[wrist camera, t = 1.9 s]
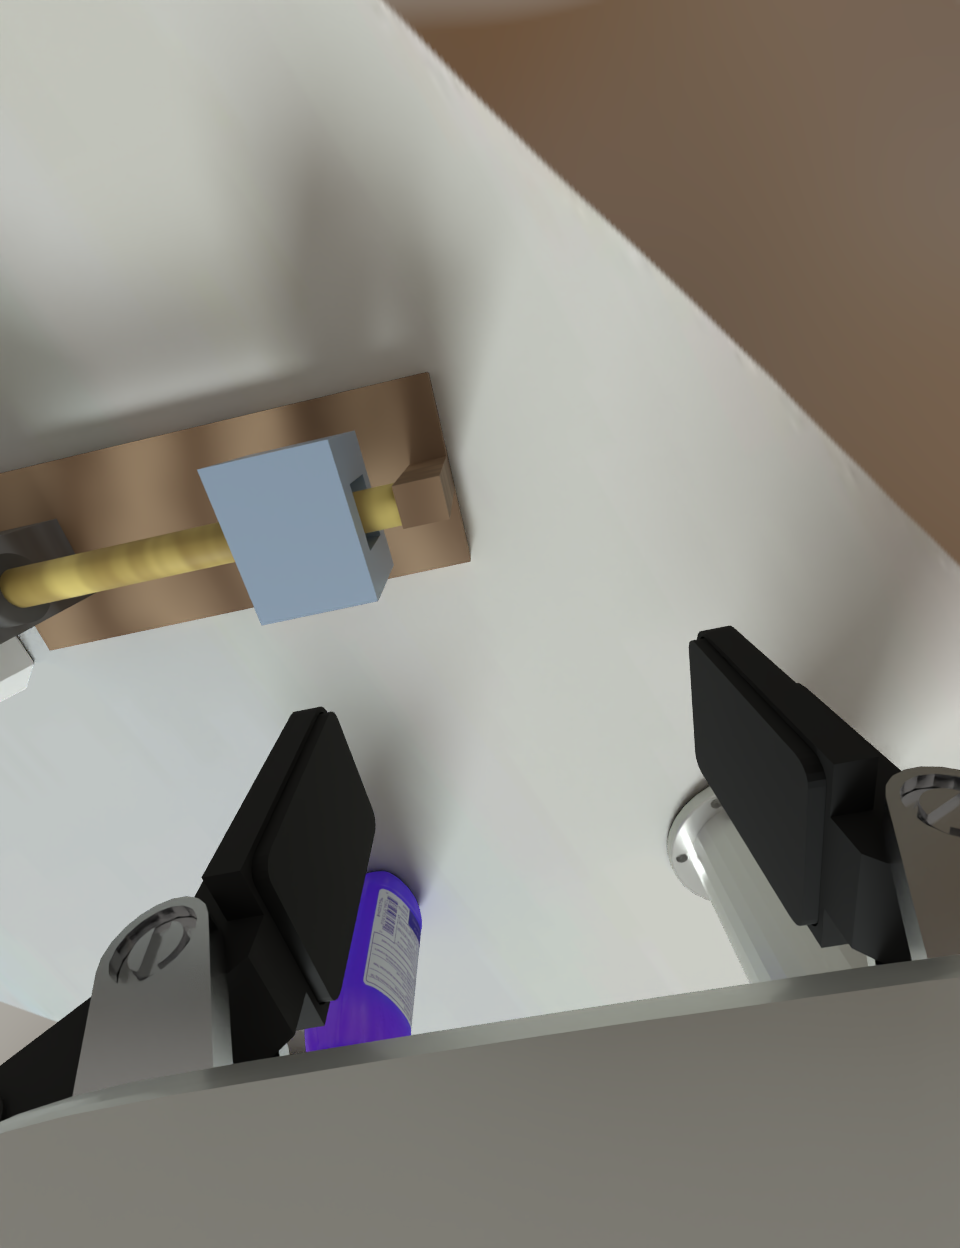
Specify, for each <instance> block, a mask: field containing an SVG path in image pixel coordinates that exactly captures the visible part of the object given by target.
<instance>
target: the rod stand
mask: <svg viewBox="0 0 960 1248" xmlns="http://www.w3.org/2000/svg"><path fill="white" fill-rule="evenodd" d="M354 430H355V433H356V436H357V440H358V443H359V447H360V450H361V453H362V457H363V460H364V464H365V467H366V471H367V474H368V478H369V481H370V484H371V488H369V489H364V490H360V491H355V492H352V493H353V497H354V500H355V503H356V507H357V510H358V513H359V516H360V520H361V523H362V526H363V529H364V533H370V532H374V531H379V530H384V533H385V536H386V539H387V543H388V546H389V550H390V553H391V557H392V560H393V564H394V566H393V568H392V570H391V572H390V575H389V577H388V579H390V578H395V577H399V576H404V575H409V574H414V573H418V572H423V571H428V570H432V569H437V568H442V567H447V566H451V565H456V564H461V563H465V562H470V561H471V555H470V551H469V547H468V542H467V538H466V534H465V529H464V525H463V520H462V516H461V512H460V507H459V503H458V499H457V494H456V490H455V485H454V481H453V477H452V472H451V468H450V464H449V459H448V455H447V450H446V446H445V442H444V437H443V433H442V429H441V424H440V420H439V415H438V411H437V407H436V402H435V398H434V393H433V389H432V385H431V380H430V376H429V373H428V372H425V373H421V374H416V375H412V376H408V377H404V378H399V379H395V380H391V381H387V382H383V383H378V384H374V385H370V386H366V387H362V388H357V389H353V390H349V391H345V392H341V393H336V394H332V395H328V396H324V397H319V398H315V399H311V400H307V401H303V402H298V403H294V404H290V405H286V406H282V407H277V408H273V409H269V410H265V411H261V412H256V413H252V414H248V415H244V416H239V417H235V418H231V419H227V420H223V421H218V422H214V423H210V424H206V425H202V426H197V427H193V428H189V429H185V430H181V431H176V432H172V433H168V434H164V435H159V436H155V437H151V438H147V439H143V440H138V441H134V442H130V443H126V444H122V445H117V446H113V447H109V448H105V449H101V450H96V451H92V452H88V453H84V454H79V455H75V456H71V457H67V458H63V459H58V460H54V461H50V462H46V463H42V464H37V465H33V466H29V467H25V468H21V469H16V470H12V471H8V472H4V473H0V644H2V643H4V642H6V641H8V640H9V639H11V638H13V637H15V636H17V635H19V634H21V633H22V632H24V631H26V630H28V629H30V628H32V627H34V626H35V627H36V628H37V630H38V632H39V633H40V635H41V637H42V638H43V640H44V642H45V643H46V645H47V647H48V648H49V650H55V649H60V648H64V647H69V646H74V645H78V644H83V643H88V642H93V641H97V640H102V639H107V638H112V637H116V636H121V635H126V634H130V633H135V632H140V631H145V630H149V629H154V628H159V627H163V626H168V625H173V624H178V623H182V622H187V621H192V620H196V619H201V618H206V617H211V616H215V615H220V614H225V613H229V612H234V611H239V610H244V609H248V608H253V607H254V606H253V603H252V601H251V599H250V596H249V594H248V591H247V589H246V587H245V584H244V582H243V579H242V577H241V574H240V572H239V570H238V567H237V565H236V562H235V560H234V558H233V555H232V553H231V550H230V548H229V546H228V543H227V541H226V538H225V536H224V534H223V531H222V529H221V526H220V524H219V521H218V519H217V517H216V514H215V512H214V509H213V507H212V505H211V502H210V500H209V497H208V495H207V493H206V490H205V488H204V485H203V483H202V481H201V478H200V476H199V473H198V471H197V470H198V469H201V468H205V467H208V466H212V465H215V464H219V463H222V462H226V461H229V460H233V459H237V458H240V457H244V456H247V455H251V454H255V453H260V452H264V451H268V450H273V449H277V448H281V447H286V446H290V445H294V444H298V443H303V442H307V441H311V440H316V439H320V438H324V437H329V436H333V435H337V434H342V433H346V432H350V431H354Z"/></svg>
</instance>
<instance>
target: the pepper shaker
mask: <svg viewBox="0 0 960 1248" xmlns="http://www.w3.org/2000/svg"><path fill="white" fill-rule="evenodd" d="M33 665H34V662H33V660H32V659H31V657H30V656H29V654H28V653H27V651H26V650H25V648H24V646H23V645H22V643H21V642H20V640H19V639H18V637H17V636H15V637H13V638H11V639H9V640H8V641H6V642H4V643H2V644H0V702H1V701H3V700H5V699H7V698H9V697H11V696H13V695H15V694H17V693H19V692H21V691H23V690H25V689H26V688H27V685H28V682H29V678H30V675H31V672H32V669H33Z"/></svg>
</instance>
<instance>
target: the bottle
mask: <svg viewBox="0 0 960 1248" xmlns="http://www.w3.org/2000/svg"><path fill="white" fill-rule="evenodd" d="M421 929H422V919H421V913H420V909H419V906H418V903H417V901H416V899H415V897H414V895H413V894H412V892H411V891H410V889H409V888H408V887H407V886H406V885H405V884H404V883H403V882H402V881H401V880H400V879H399V878H397V877H396V876H394V875H393V874H391V873H389V872H386V871H376V872H370V873H367V874H366V876H365V881H364V885H363V890H362V895H361V899H360V904H359V909H358V914H357V918H356V923H355V928H354V932H353V937H352V942H351V946H350V951H349V956H348V960H347V965H346V970H345V975H344V979H343V984H342V989H341V992H340V995H339V997H338V999H336V1000H334V1001H330V1005H329V1009H328V1014H327V1018H326V1022H325V1026H321V1027H314V1028H308V1029H305V1047H306V1052H310V1051H316V1050H322V1049H329V1048H335V1047H341V1046H348V1045H354V1044H360V1043H366V1042H373V1041H379V1040H385V1039H391V1038H398V1037H404V1036H410V1035H411V1026H412V1016H413V1006H414V995H415V985H416V974H417V965H418V956H419V947H420V935H421Z"/></svg>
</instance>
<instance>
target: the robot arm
mask: <svg viewBox="0 0 960 1248" xmlns="http://www.w3.org/2000/svg"><path fill="white" fill-rule="evenodd" d="M689 659H690V675H691V691H692V707H693V723H694V739H695V754H696V759H697V763H698V766H699V768H700V770H701V772H702V774H703V776H704V777H705V779H706V781H707V782H708V784H709V785H710V786H709V787H707V788H706V789H704V790H703V791H702V792H700V793H699V794H697V795H696V796H695V797H694V798H693V799H692V800H690V801H689V802H688V803H687V804H686V805H685V806H684V807H683V809H682V810H681V811H680V813H679V814H678V815H677V817H676V818H675V820H674V822H673V825H672V827H671V829H670V832H669V836H668V841H667V852H668V857H669V860H670V863H671V866H672V868H673V870H674V872H675V874H676V876H677V878H678V879H679V881H680V882H681V883H682V884H683V885H684V887H686V888H687V889H688V890H690V891H691V892H692V893H694V894H695V895H698V896H700V897H702V898H704V899H706V900H710V901H711V903H712V905H713V907H714V909H715V911H716V913H717V915H718V918H719V920H720V922H721V924H722V926H723V928H724V930H725V932H726V934H727V936H728V939H729V941H730V943H731V945H732V947H733V949H734V951H735V953H736V955H737V958H738V960H739V962H740V964H741V966H742V968H743V970H744V972H745V974H746V976H747V979H748V981H749V983H750V984H745V985H738V986H731V987H724V988H718V989H711V990H704V991H697V992H690V993H684V994H677V995H670V996H663V997H657V998H650V999H644V1000H637V1001H631V1002H624V1003H617V1004H611V1005H604V1006H598V1007H591V1008H585V1009H578V1010H572V1011H565V1012H558V1013H552V1014H545V1015H539V1016H532V1017H526V1018H519V1019H513V1020H507V1021H500V1022H494V1023H487V1024H481V1025H474V1026H468V1027H461V1028H455V1029H448V1030H442V1031H435V1032H429V1033H423V1034H416V1035H410V1036H404V1037H398V1038H391V1039H385V1040H379V1041H373V1042H366V1043H360V1044H354V1045H348V1046H341V1047H335V1048H329V1049H322V1050H316V1051H310V1052H304V1053H297V1054H291V1055H290V1054H289V1048H288V1044H287V1042H288V1041H289V1040H290V1039H291V1038H292V1037H293V1036H294V1035H295V1032H296V1030H302V1029H308V1028H314V1027H321V1026H325V1022H326V1018H327V1014H328V1009H329V1005H330V1001H334V1000H336V999H338V997H339V995H340V992H341V989H342V984H343V979H344V975H345V970H346V965H347V960H348V956H349V951H350V946H351V942H352V937H353V932H354V928H355V923H356V918H357V914H358V909H359V904H360V899H361V895H362V890H363V885H364V881H365V876H366V871H367V867H368V862H369V857H370V852H371V848H372V843H373V838H374V834H375V816H374V812H373V809H372V807H371V804H370V802H369V799H368V796H367V794H366V791H365V788H364V786H363V783H362V781H361V778H360V775H359V773H358V770H357V768H356V765H355V762H354V760H353V757H352V755H351V752H350V749H349V747H348V744H347V741H346V739H345V736H344V734H343V731H342V728H341V726H340V723H339V721H338V718H337V716H336V714H335V713H334V712H328V713H327V711H326V710H325V709H324V708H323V707H316V708H311V709H306V710H301V711H296V712H293V713H292V714H291V716H290V718H289V719H288V721H287V723H286V725H285V727H284V729H283V730H282V732H281V734H280V736H279V738H278V740H277V741H276V743H275V745H274V747H273V749H272V750H271V752H270V754H269V756H268V758H267V760H266V761H265V763H264V765H263V767H262V769H261V770H260V772H259V774H258V776H257V778H256V780H255V781H254V783H253V785H252V787H251V789H250V790H249V792H248V794H247V796H246V798H245V800H244V801H243V803H242V805H241V807H240V809H239V810H238V812H237V814H236V816H235V818H234V820H233V821H232V823H231V825H230V827H229V829H228V830H227V832H226V834H225V836H224V838H223V840H222V841H221V843H220V845H219V847H218V849H217V850H216V852H215V854H214V856H213V858H212V860H211V861H210V863H209V865H208V867H207V869H206V871H205V872H204V874H203V876H202V879H203V882H202V884H201V886H200V888H199V890H198V891H197V893H196V895H195V897H188V896H186V897H180V898H174V899H171V900H168V901H166V902H163V903H161V904H158V905H156V906H155V907H153V908H151V909H150V910H148V911H146V912H145V913H143V914H141V915H140V916H139V917H138V918H136V919H135V920H134V921H133V922H131V923H130V924H129V925H128V926H127V927H125V928H124V929H123V930H122V932H121V933H120V934H119V935H118V936H117V937H116V938H115V939H114V940H113V941H112V942H111V944H110V945H109V947H108V948H107V950H106V952H105V953H104V955H103V956H102V958H101V960H100V963H99V966H98V968H97V971H96V975H95V980H94V985H93V990H92V996H91V997H90V998H89V999H88V1000H86V1001H85V1002H84V1003H82V1004H81V1005H80V1006H78V1007H77V1008H76V1009H74V1010H73V1011H72V1012H70V1013H69V1014H68V1015H67V1016H65V1017H64V1018H63V1019H61V1020H60V1021H59V1022H57V1023H56V1024H55V1025H53V1026H52V1027H51V1028H49V1029H48V1030H47V1031H45V1032H44V1033H43V1034H42V1035H40V1036H39V1037H38V1038H36V1039H35V1040H34V1041H32V1042H31V1043H30V1044H28V1045H27V1046H26V1047H24V1048H23V1049H22V1050H20V1051H19V1052H18V1053H16V1054H15V1055H14V1056H12V1057H11V1058H10V1059H8V1060H7V1061H6V1062H5V1063H3V1064H2V1065H1V1066H0V1248H960V770H957V769H951V768H945V767H922V766H921V767H916V768H910V769H905V770H903V771H901V770H900V769H898V768H897V767H896V766H895V765H894V764H893V763H892V762H890V761H889V760H888V759H887V758H886V757H885V756H884V755H882V754H881V753H880V752H879V751H878V750H877V749H876V748H874V747H873V746H872V745H871V744H870V743H869V742H868V741H866V740H865V739H864V738H863V737H862V736H861V735H860V734H858V733H857V732H856V731H855V730H854V729H853V728H852V727H850V726H849V725H848V724H847V723H846V722H845V721H844V720H842V719H841V718H840V717H839V716H838V715H837V714H836V713H834V712H833V711H832V710H831V709H830V708H829V707H828V706H826V705H825V704H824V703H823V702H822V701H821V700H820V699H818V698H817V697H816V696H815V695H814V694H813V693H812V692H810V691H809V690H808V689H807V688H806V687H804V686H803V685H801V684H800V683H796V682H794V681H793V680H792V679H791V678H790V677H789V676H788V675H787V674H785V673H784V672H783V671H782V670H781V669H780V668H779V667H778V666H776V665H775V664H774V663H773V662H772V661H771V660H770V659H768V658H767V657H766V656H765V655H764V654H763V653H762V652H761V651H759V650H758V649H757V648H756V647H755V646H754V645H753V644H752V643H750V642H749V641H748V640H747V639H746V638H745V637H744V636H743V635H741V634H740V633H739V632H738V631H737V630H736V629H735V628H734V627H732V626H725V627H720V628H715V629H710V630H705V631H700V632H699V633H698V637H697V640H693V641H690V643H689Z"/></svg>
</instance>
